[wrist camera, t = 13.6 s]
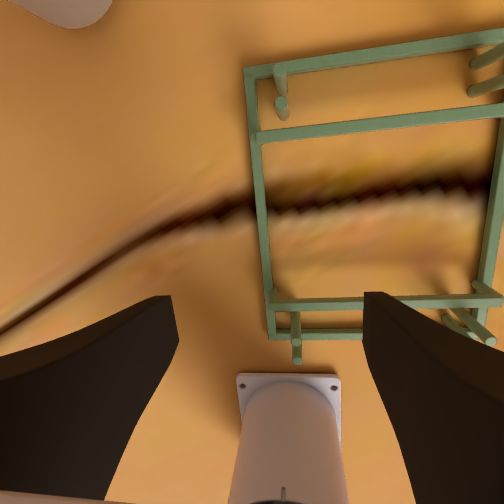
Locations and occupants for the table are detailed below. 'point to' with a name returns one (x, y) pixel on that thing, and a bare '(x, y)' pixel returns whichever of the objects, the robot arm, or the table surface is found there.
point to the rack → (500, 196)
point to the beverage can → (66, 11)
